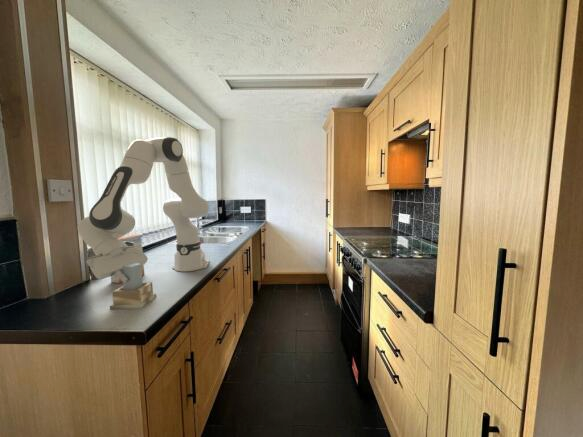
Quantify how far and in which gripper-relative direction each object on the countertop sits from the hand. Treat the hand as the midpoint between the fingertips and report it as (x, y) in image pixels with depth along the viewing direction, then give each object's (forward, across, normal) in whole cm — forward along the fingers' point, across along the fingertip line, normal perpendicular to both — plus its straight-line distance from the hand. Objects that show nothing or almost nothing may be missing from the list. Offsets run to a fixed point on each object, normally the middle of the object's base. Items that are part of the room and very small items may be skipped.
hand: (133, 278), depth 97 cm
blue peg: (+4, 0, +5) cm, 7 cm away
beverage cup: (-25, +20, +39) cm, 50 cm away
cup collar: (+6, 0, +7) cm, 10 cm away
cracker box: (-13, +23, +27) cm, 37 cm away
